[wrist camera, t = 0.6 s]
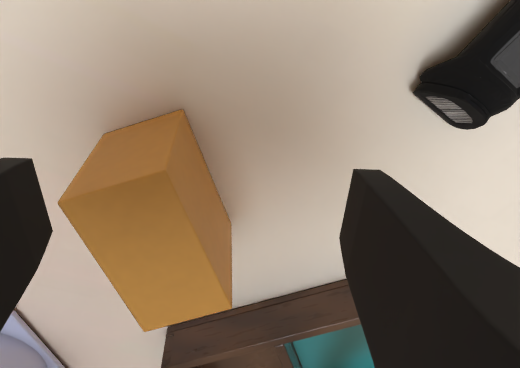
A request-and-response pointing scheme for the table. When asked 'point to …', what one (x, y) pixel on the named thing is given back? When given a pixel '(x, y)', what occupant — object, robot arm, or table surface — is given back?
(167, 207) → the carton
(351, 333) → the organizer
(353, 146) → the table surface
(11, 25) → the table surface
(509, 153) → the table surface
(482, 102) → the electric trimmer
